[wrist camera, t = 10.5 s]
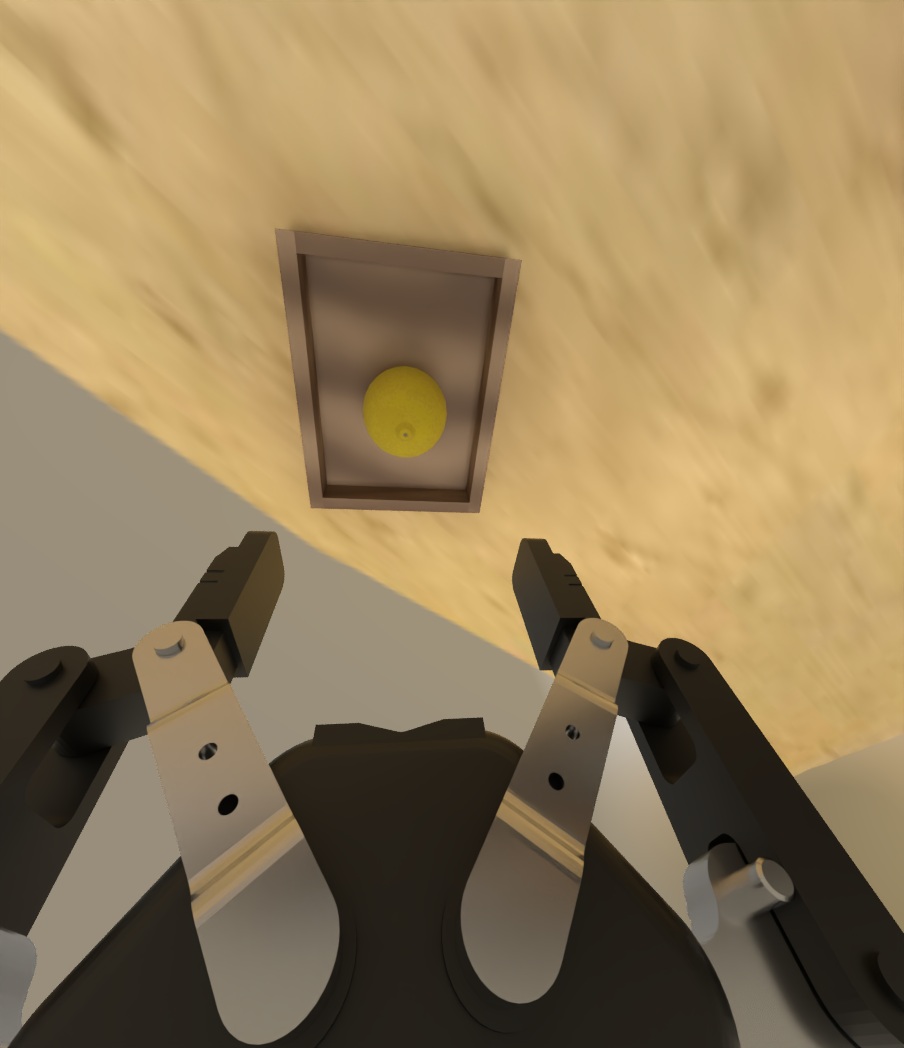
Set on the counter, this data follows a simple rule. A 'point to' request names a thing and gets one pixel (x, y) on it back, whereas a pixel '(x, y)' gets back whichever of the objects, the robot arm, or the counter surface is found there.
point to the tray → (394, 363)
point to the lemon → (404, 411)
